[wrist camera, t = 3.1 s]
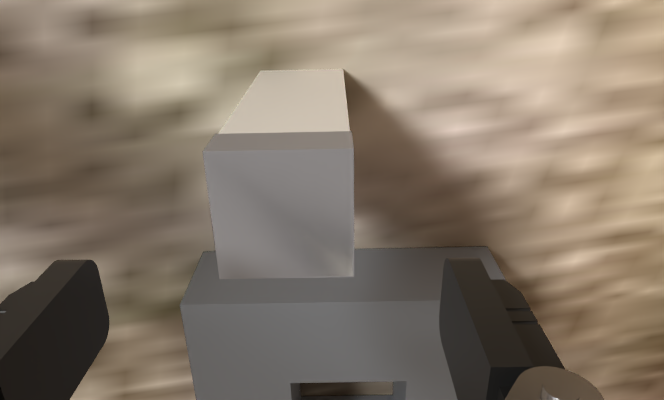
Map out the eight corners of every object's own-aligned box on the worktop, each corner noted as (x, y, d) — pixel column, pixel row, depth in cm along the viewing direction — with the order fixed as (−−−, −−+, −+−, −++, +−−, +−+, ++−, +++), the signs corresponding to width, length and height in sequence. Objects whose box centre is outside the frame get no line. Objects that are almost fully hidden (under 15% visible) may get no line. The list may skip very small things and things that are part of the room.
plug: (259, 69, 25) (202, 151, 14) (344, 67, 25) (353, 148, 14) (265, 150, 27) (219, 279, 16) (344, 148, 27) (354, 276, 16)
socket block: (203, 251, 29) (179, 304, 24) (487, 246, 29) (516, 298, 24) (232, 451, 36) (217, 522, 31) (463, 448, 36) (482, 519, 31)
